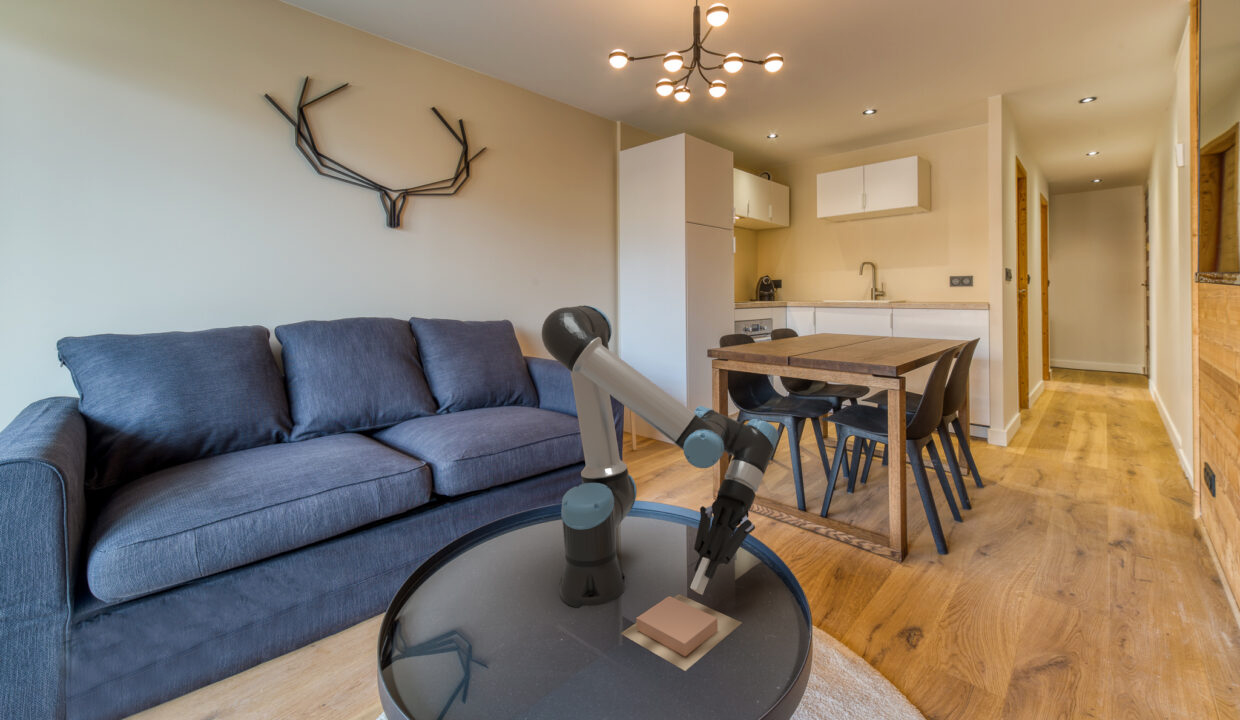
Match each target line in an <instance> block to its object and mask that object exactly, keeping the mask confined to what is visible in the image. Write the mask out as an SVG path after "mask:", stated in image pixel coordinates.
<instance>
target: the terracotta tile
mask: <svg viewBox="0 0 1240 720" xmlns="http://www.w3.org/2000/svg"><path fill="white" fill-rule="evenodd" d="M635 619H636V623H637V630H638V631H640V632H642V633H644V634H645V635H647V636H649V637H651V638H653V639H654V640H656V641H658V642H660V643H662V644H663V645H665V646H667V647H669V648H671V649H672V650H674V651H676V652H678V653H680V654H681V655H683V656H685V657H686V656H687V655H688V654H689V653H690V652H692V651H693V650H694V649H695V648H697V647H698V646H699V645H700V644H701V643H703V642H704V641H705V640H706V639H708V638H709V637H710V636H711V635H713V634H714V633H715V632H716V631H717V630H718V625H717V618H716V617H714V616H711V615H709V614H707V613H705V612H703V611H701V610H699V609H696V608H694V607H692V606H690V605H688V604H686V603H684V602H681V601H679V600H677V599H675V598H674V597H673V596H671V595H669V596H667V597H665V598H664V599H663V600H660V602H658V603H657V604H655V605H654V606H652V607H650V608H649V609H647V610H646V611H645V612H643V613H642V614H640V615H639V616H637V617H636V618H635Z"/></svg>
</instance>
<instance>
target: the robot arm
mask: <svg viewBox="0 0 1240 720" xmlns="http://www.w3.org/2000/svg"><path fill="white" fill-rule="evenodd" d="M612 334H613V329H612V324H611V321H610V319H609V317H608V316H607V314H606V313H604V312H603V311H602V310H601V309H599V308H597V307H595V306H592V305H591V306H590V305H586V304H585V305H578V306H577V305H576V306H571V307H569V306H567V307H566V306H565V307H560V308H558V309H555V310H553V311H552V312H551V313H550V314H548V315H547V317H546V318H545V319H544V321H543V324H542V327H541V340H542V342H543V346H544V348H545V349H546V350H547V353H549V354H550V355H551V356H552V357H553V358H554V359H555V360H557V362H559V363H560V364H561V365H562V366H564V367H565V368H566V369H568V370H569V371H570V377H571V383H572V388H573V389H572V390H573V394H574V400H575V407H576V413H577V419H578V425H579V431H580V437H581V438H580V439H581V443H582V450H583V456H584V462H585V466H584V468H583V469H582V470H581V472H580V476H581V482H582V484H579V485H578V486H576V485H575V486H573V487H571V488H570V489H568V490H567V491H566V492H565V494H564V495H563V497H562V499H561V511H560V514H561V521H562V531H563V545H564V556H565V557H564V558H565V563H564V566H563V572H562V577H561V579H560V582H559V593H560V594H559V595H560V598H561V600H562V601H563V602H564V603H565V604H567V605H568V606H571V607H573V608H577V609H579V608H582V607H583V606H586V607H587V606H589V607H590V606H591V607H592V606H598V605H604V604H608V603H610V602H613V601H614V600H616V599H618V598H619V597H621V595H622V594H624V592H625V590H626V588H627V578H626V575H625V573H624V571H623V567H622V565H621V563H620V560H619V558H618V554H617V541H616V540H617V539H616V529H618V527H619V526H620V524H621V523H622V522H623V520H624V519H625V518H626V517H627V515H628V514H629V513H630V512H631V511H632V509H633V507H634V505H635V501H636V499H637V492H638V491H637V485H636V484H637V483H636V482H635V480H634V478H633V476H632V475H630V474H629V471H628V466H627V463H625V462H624V461H623V460H621V458H620V452H619V451H620V450H619V446H618V445H619V444H618V440H617V439H618V438H617V432H616V428H615V427H616V425H615V421H614V414H613V407H612V402H611V397H612V398H614V399H615V400H617V401H618V402H619V403H621V404H622V405H623V406H624V407H626V408H627V409H628V410H629V411H631V412H633V413H634V414H635V415H636V416H638V417H639V418H640V419H642V420H643V421H644V422H646V423H647V424H648V425H650V426H651V427H653V428H654V430H656V431H658V432H659V433H661V434H662V436H664V437H665V438H667V439H668V440H669V441H671V442H672V443H673V444H675V445H676V446H677V447H678V448H679V449H681V450H682V451H683V454H684V457H685V459H686V460H687V462H688V463H689V464H690V465H691V466H693V467H695V468H698V469H708V468H711V467H713V466H715V464H717V463H718V462H719V461H720V459H721V458H722V457H723V455H724V453H727V454H729V455H731V456H733V457H732V458H731V461H730V463H729V465H728V468H727V470H726V471H725V474H724V480H722V481H721V484H720V486H719V489H718V490H717V496H716V499H715V501H713V502H712V504H711V505H709V506H707V507H705V506H704V505H703V506H700V509H699V513H700V519H699V523H698V524H699V525H698V529H697V533H696V538H695V541H694V542H695V543H694V547H693V549H694V551H695V552H697V554H698V555H699V557H698V559H697V562H696V565H695V567H694V572H695V575H694V577H693V579H692V581H691V584H690V587H689V588H690V589H691V590H693V591H694V592H695V593H697V594H699V595H702V596H703V594H704V592H705V589H706V587H707V585H708V582H709V580H713V578H714V576H715V574H716V571H717V568H718V567H719V565H721V564H722V565H723V564H724V565H729V564H730V562H731V560H732V559H733V557H734V556H735V555H736V554H737V553H736V552H737V551H738V550H739V548H740V547H741V545H742V544H743V542H744V541H745V539H746V538H747V537H748V535H750V533H752V532H753V531H754V530H755V529H756V526H755V524H754V523H753V522H752V521H751V520H750V519H749V515H750V514H749V511H750V510H751V509H752V506H753V503H754V501H755V500H756V499H755V498H756V493H757V492H758V490H759V488H760V486H761V482H762V480H763V478H764V476H765V473H766V472H767V471H766V470H767V468H768V466H769V464H770V461H771V458H772V456H773V454H774V452H775V450H776V449H775V448H776V444H777V443H778V439H779V432H778V429H777V428H776V427H775V426H774V425H773V424H771V423H769V422H768V421H766V420H760V419H758V418H753V419H750V420H748V422H747V423H742V422H739V421H737V420H736V419H733V418H732V417H729V416H727V415H724V414H722V413H719V412H717V411H716V410H715V409H712V408H708V407H706V406H703V405H698V406H697V407H696V408H695V410H694V412H693V411H692V410H691V409H689V408H688V407H687V406H685V405H684V404H682V403H681V402H680V401H678V400H677V399H676V398H675V397H673V396H672V395H670V394H669V393H668V392H667V391H666V390H663V389H662V388H661V387H660V386H658V385H657V384H655V383H654V382H653V381H652V380H650V379H649V378H647V377H646V376H645V375H644V374H642V373H640V372H639V371H638V370H636V368H634V367H633V366H631V365H630V364H628V362H626V361H625V360H623V359H622V358H620V357H619V356H618V355H616V354H615V353H614V352H612V351H611V350H610V349H609V343H610V340H611V338H612Z"/></svg>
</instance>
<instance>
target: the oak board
mask: <svg viewBox="0 0 1240 720" xmlns="http://www.w3.org/2000/svg"><path fill="white" fill-rule="evenodd" d="M673 598H675V599H677V600H679V601H681V602H684V603H686V604H688V605H690V606H692V607H694V608H696V609H699V610H701V611H703V612H705V613H707V614H709V615H711V616H714V617H716V618H717V625H718V630H717V631H716V632H715V633H714V634H713V635H711V636H710V637H709V638H708V639H706V640H705V641H704V642H703V643H701V644H700V645H699V646H698V647H697V648H695V649H694V650H693V651H692V652H690V653H689V654H688V655H687V656H686V657H685V656H683V655H681V654H680V653H678V652H676V651H674V650H672V649H671V648H669V647H667V646H665V645H663V644H662V643H660V642H658V641H656V640H654V639H653V638H651V637H649V636H647V635H645V634H644V633H642V632H640V631H638V630H637V622H635V623H633V624H632V625H630V627H628V628H627V629H625V630H623V631H622V632H621V633H620V635H622V636H624V637H626V638H627V639H629V640H631V641H632V642H634V643H636V644H637V645H639V646H641V647H643V648H644V649H646V650H648V651H649V652H652V653H653V654H654V655H656V656H659V657H660V658H662V659H663V660H665V661H667V662H669V663H670V664H672V665H673V666H675V667H678V668H679V669H681V670H683V671H684V672H687V670H689V669H690V668H691V667H692V666H693V665H694V664H695V663H697V662H698V661H699V660H701V658H703V657H704V656H705V655H707V653H708V652H709V651H711V650H713V648H715V647H716V646H717V645H718V644H719V643H720V642H721V641H722V640H724V639H725V638H727V636H728V635H730V634H731V633H732V632H733V631H735V630H736V629H737V628H738V627H739V626H741V624H743V622H741V621H739V620H737V619H735V618H732V617H730V616H729V615H726V614H724V613H721V612H719V611H717V610H715V609H713V608H710V607H708V606H706V605H704V604H702V603H700V602H698V601H696V600H693V599H691V598H688V597H686V596H684V595H682V594H677V595H675V596H674V597H673Z"/></svg>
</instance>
